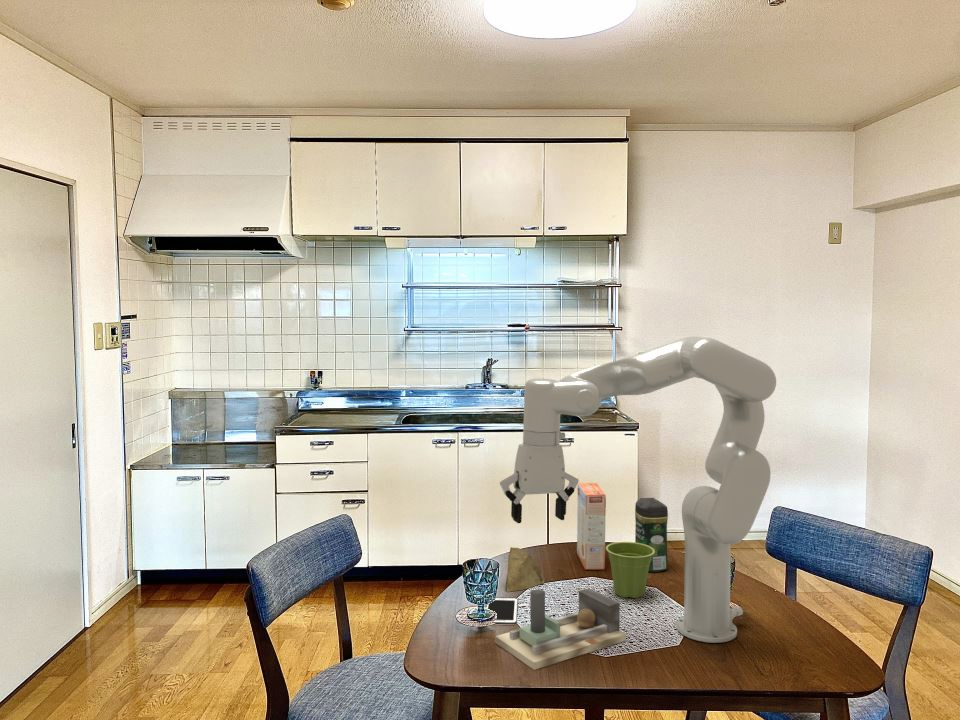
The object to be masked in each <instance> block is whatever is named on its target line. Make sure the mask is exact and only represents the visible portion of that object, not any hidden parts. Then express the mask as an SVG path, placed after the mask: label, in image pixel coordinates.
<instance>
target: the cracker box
mask: <svg viewBox="0 0 960 720" xmlns="http://www.w3.org/2000/svg"><path fill="white" fill-rule="evenodd" d="M606 502H607V495H606V493H605V492H604V490H603V489H602V488H601V487H600V485H599V484H598V483H596V482H580V483H579V482H578V484H577V512H576V513H577V515H576V516H577V518H576V519H577V525H576V526H577V527H576V528H577V529H576V531H577V532H576V533H577V534H576V539H577V540H576V554H577V556H578V558H579V560H580V563H581V564H582V567H583V568H584V570H586V571H588V570H591V571H592V570H597V571H600V570H601V571H602V570H605V569H606V516H607V515H606V511H607V509H606V508H607V505H606V504H607V503H606Z"/></svg>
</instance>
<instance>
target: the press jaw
mask: <svg viewBox="0 0 960 720" xmlns="http://www.w3.org/2000/svg"><path fill="white" fill-rule="evenodd" d="M529 593H530V596H529V597H530V600H529V601H530V607H529V608H530V611H529V612H530V614H529V615H530V617H529V618H530V621H529V622H530V624H528V625H527V624H526V625H524V626H520V627H519V629H520V638H521V639H522V640H524V641H525V642H527V643H528V644H530V645H531V646H533V645H536V644H540V643H543V642H546V641H550V640H553V639H556V638H560V622H558V621H556V620H554V619H555V618H552V617H551V616H549V615H548V614H546V592H545V590H543V589H532V590H531V591H530V592H529Z"/></svg>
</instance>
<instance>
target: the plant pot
mask: <svg viewBox="0 0 960 720" xmlns="http://www.w3.org/2000/svg"><path fill="white" fill-rule="evenodd" d="M605 551H607V553H608V559H609V562H610V569H611V575H612V581H613V591H614V593H615V595H617V596H619V597H622V598H631V599H638V598H641V597H643V596H644V595H645V591H646V588H647V581H648V575H649V572H650V571H649V566H650V563H651V560H652V555H653V554H654V553H655V550H654V549H653V548H652V547H650V546H648V545H645V544H641V543H635V542H632V541H619V542H618V541H617V542H612V543H609V544H607V545H605Z"/></svg>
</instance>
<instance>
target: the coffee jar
mask: <svg viewBox="0 0 960 720" xmlns="http://www.w3.org/2000/svg"><path fill="white" fill-rule="evenodd" d="M634 505H635V509H634V516H635V517H634V519H635V520H634V521H635V530H634V531H635V543H641V544H645V545H648V546H650V547H652V548H653V549H654V550H655V553H654V554H653V555H652V560H651V563H650V566H649V571H648V572H652V573H659V572H662V571H665V570H667V569H668V520H669V519H668V518H669V512H668V506H667V505H666V504H664V503H663V502H662V501H659V500H657V499H656V498H655V497H641V498H639V499H638V500H636V502H635V504H634Z"/></svg>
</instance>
